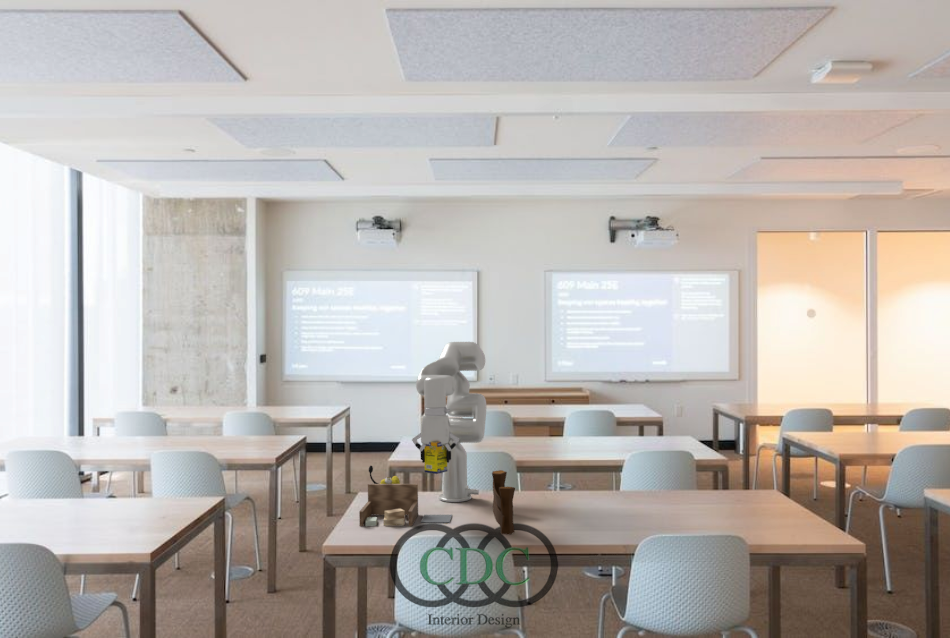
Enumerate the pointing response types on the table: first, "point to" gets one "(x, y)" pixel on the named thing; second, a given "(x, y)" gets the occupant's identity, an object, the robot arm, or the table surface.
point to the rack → (391, 500)
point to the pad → (436, 519)
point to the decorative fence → (503, 502)
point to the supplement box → (435, 458)
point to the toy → (385, 481)
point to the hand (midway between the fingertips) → (435, 461)
